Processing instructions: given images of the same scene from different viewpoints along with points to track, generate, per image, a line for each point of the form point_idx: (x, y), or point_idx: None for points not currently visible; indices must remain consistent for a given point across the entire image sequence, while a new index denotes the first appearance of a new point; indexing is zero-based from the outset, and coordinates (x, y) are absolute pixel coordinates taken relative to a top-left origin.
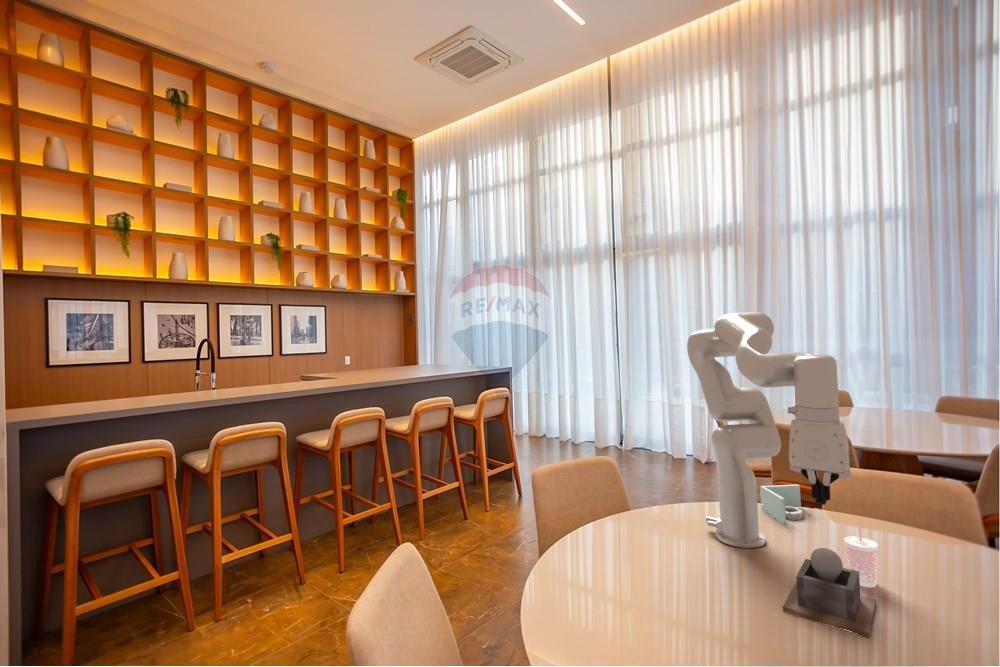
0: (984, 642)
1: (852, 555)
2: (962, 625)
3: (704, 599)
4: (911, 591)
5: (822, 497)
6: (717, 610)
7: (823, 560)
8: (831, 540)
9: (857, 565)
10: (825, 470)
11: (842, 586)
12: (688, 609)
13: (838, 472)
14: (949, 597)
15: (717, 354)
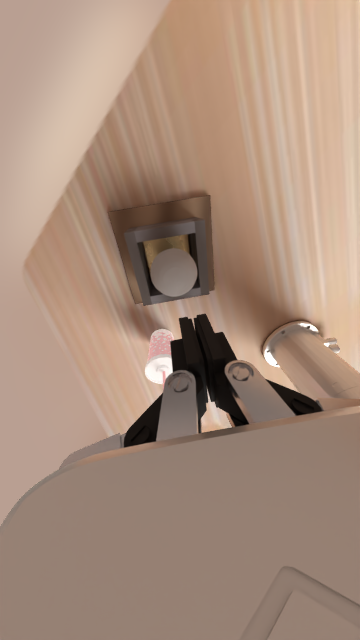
0: (39, 300)
1: (168, 349)
2: (67, 318)
3: (312, 130)
4: (124, 350)
5: (187, 330)
6: (289, 106)
7: (171, 254)
8: None
9: (163, 341)
10: (173, 451)
11: (140, 237)
12: (335, 58)
13: (72, 467)
14: (98, 361)
15: None
